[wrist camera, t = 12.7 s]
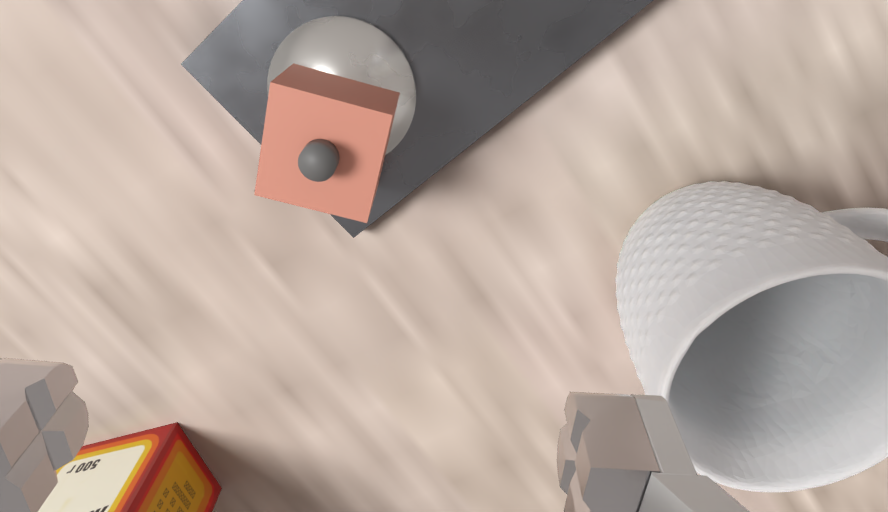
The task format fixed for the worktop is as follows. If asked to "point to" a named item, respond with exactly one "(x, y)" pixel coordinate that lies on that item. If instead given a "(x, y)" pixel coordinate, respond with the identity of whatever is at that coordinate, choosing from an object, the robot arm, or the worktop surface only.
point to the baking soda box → (136, 476)
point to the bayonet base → (406, 65)
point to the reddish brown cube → (324, 142)
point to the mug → (761, 332)
